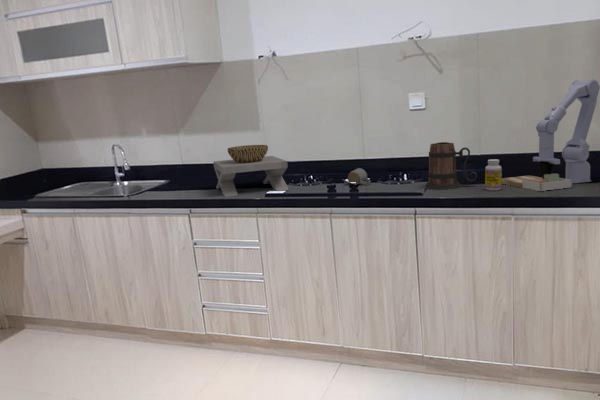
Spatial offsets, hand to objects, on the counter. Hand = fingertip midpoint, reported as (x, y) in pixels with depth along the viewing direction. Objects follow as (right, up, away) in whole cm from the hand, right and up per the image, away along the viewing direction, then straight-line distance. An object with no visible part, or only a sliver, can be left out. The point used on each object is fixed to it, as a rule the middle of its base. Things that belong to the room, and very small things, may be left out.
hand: (545, 179), depth 234 cm
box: (-2, -4, -4) cm, 6 cm away
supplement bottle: (-22, -5, +1) cm, 23 cm away
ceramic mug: (-76, -1, +37) cm, 85 cm away
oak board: (-5, -2, +9) cm, 10 cm away
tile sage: (0, 0, -2) cm, 2 cm away
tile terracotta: (-5, -3, -3) cm, 7 cm away
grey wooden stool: (-131, -3, +46) cm, 139 cm away
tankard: (-37, -3, +14) cm, 40 cm away
